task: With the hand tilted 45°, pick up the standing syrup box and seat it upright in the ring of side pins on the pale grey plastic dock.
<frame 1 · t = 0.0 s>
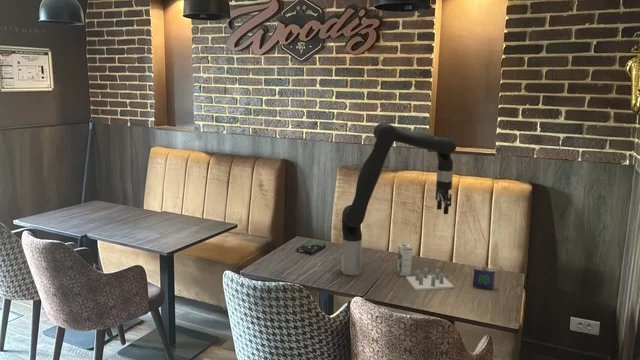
hand: (442, 211, 257), 29 cm above the table, tool pointing down, fingers open, 8 cm apart
syrup box: (403, 274, 255), on the table
dock: (429, 283, 243), on the table
disk drive: (311, 251, 287), on the table
flask: (483, 288, 239), on the table
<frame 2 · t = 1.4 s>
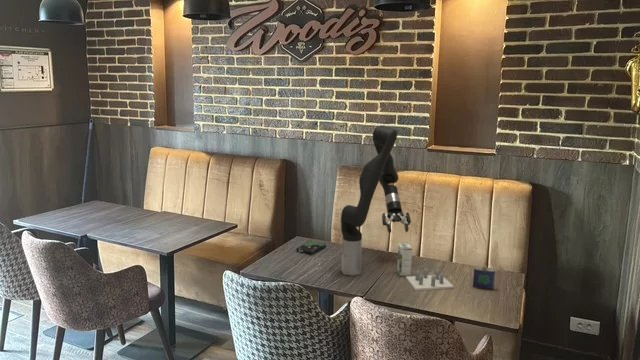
hand: (398, 231, 262), 18 cm above the table, tool tilted 45°, fingers open, 8 cm apart
nothing on the table moved.
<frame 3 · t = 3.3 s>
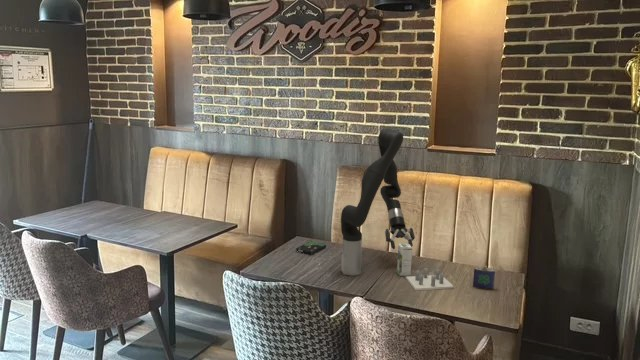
hand: (402, 248, 256), 12 cm above the table, tool tilted 45°, fingers open, 8 cm apart
nothing on the table moved.
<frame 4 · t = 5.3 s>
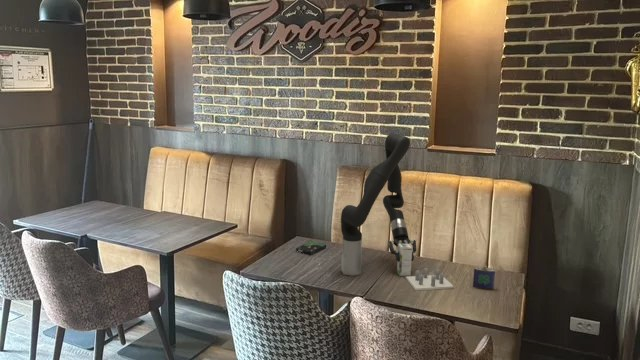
hand: (405, 260, 252), 7 cm above the table, tool tilted 45°, fingers closed on syrup box, 6 cm apart
syrup box: (403, 274, 255), on the table, touching gripper
everything else where it was.
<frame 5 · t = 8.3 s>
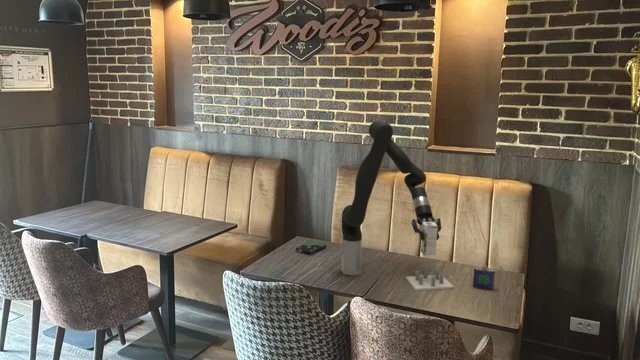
hand: (430, 239, 239), 21 cm above the table, tool tilted 45°, fingers closed on syrup box, 6 cm apart
syrup box: (428, 253, 242), point 14 cm above the table, touching gripper
everything else where it was.
when the fingers open (10 cm above the table, at t = 11.8 s): syrup box drops 1 cm, resting on dock.
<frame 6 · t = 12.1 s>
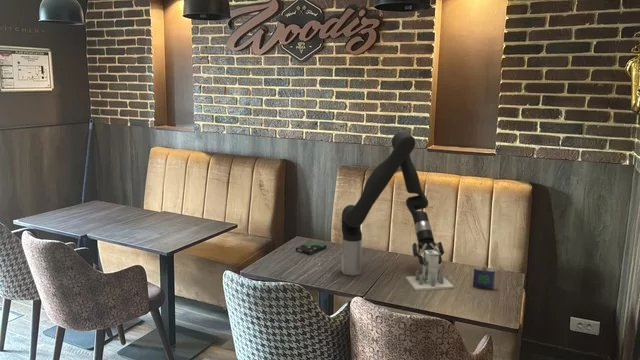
hand: (431, 263, 240), 10 cm above the table, tool tilted 45°, fingers open, 8 cm apart
syrup box: (429, 281, 243), point 1 cm above the table, touching dock
everything else where it was.
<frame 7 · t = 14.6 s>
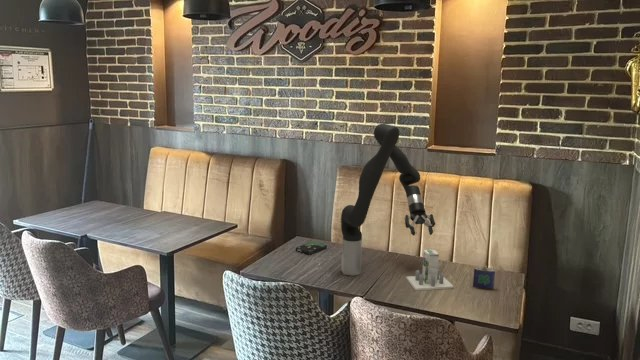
hand: (422, 234, 250), 20 cm above the table, tool tilted 45°, fingers open, 8 cm apart
nothing on the table moved.
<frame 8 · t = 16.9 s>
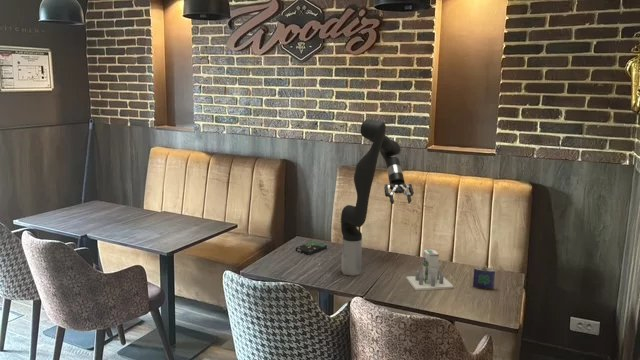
hand: (401, 202, 259), 33 cm above the table, tool tilted 45°, fingers open, 8 cm apart
nothing on the table moved.
at the end: syrup box 0.4 cm off-centre on the dock, point 0.8 cm above the dock's base; syrup box tilted 0°; the gripper is holding nothing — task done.
